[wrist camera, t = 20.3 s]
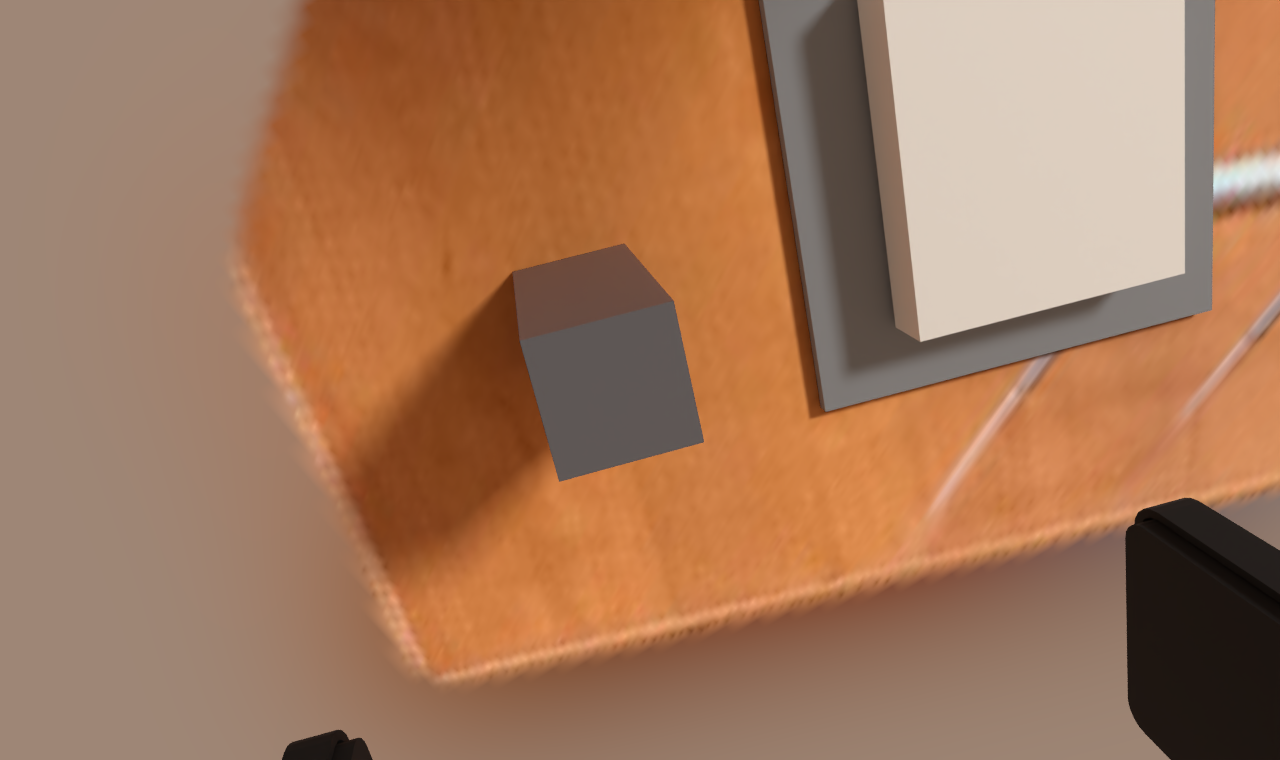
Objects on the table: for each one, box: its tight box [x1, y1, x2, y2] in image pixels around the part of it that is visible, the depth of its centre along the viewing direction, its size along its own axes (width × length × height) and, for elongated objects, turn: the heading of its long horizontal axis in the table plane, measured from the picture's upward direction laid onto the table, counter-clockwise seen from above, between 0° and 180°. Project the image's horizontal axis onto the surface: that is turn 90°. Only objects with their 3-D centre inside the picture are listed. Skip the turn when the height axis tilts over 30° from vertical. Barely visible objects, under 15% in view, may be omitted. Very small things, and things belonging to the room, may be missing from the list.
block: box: [513, 244, 704, 482], centre depth 27 cm, size 4×4×9 cm
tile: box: [857, 0, 1185, 342], centre depth 30 cm, size 2×10×12 cm
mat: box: [759, 0, 1215, 412], centre depth 31 cm, size 20×16×1 cm
